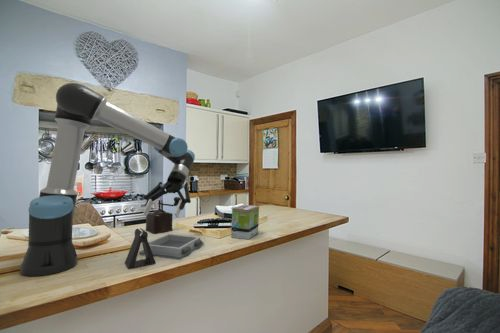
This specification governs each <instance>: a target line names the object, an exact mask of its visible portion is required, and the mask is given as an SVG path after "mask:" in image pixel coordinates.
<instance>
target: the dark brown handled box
mask: <svg viewBox="0 0 500 333" xmlns="http://www.w3.org/2000/svg"><path fill="white" fill-rule="evenodd" d="M180 200H181V198H180V196H175V197H174V198H173V201H174V202H173V204H171V203H170V204H169V203H162V202H161V201H162V200H161V199H158V208H157V209H156V210H155V211H153V212H149V213H148V215H147V216H145V217H146V218H145V232H148V233H151V234H154V235H157V234H162V233H163V234H164V233H166V232H172V231H173V216H174V215H173V214H174V213H172V212H168V211H167V212H166V211H165V210H164V209H161V206H169V207H177V205H178V203H179V201H180ZM181 201H182V200H181Z"/></svg>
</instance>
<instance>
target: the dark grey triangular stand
mask: <svg viewBox="0 0 500 333" xmlns="http://www.w3.org/2000/svg"><path fill="white" fill-rule="evenodd" d="M147 232H148V231H146V230H144V229H143V228H141V227H140V228H136V229H135V230H134V238H133V241H132V243H131V246H130V249H129V251H128V254H127V256H126V259H125V262H124V264H125V265H126V267H127V269H128V270H132V269H133V270H134V269H138V268H141V267H147V266H152V265H156V263H157V261H156V260H155V256H153V254H152V251H151V248H150V246H149V240H148V233H147ZM141 245H142V248H143V250H144V253H145V255H144V257H145V258H144V259H142V258H141V259H138V260H137V258H138V255H139V252H140V248H141Z"/></svg>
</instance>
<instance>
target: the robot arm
mask: <svg viewBox="0 0 500 333" xmlns="http://www.w3.org/2000/svg"><path fill="white" fill-rule="evenodd" d="M55 100H56V104H57V105H56V110H55V117H54V120H55V122H56V123H57V124H58V127H57V129H56V130H57V132H56V137H55V141H54V147H53V152H52V155H51V161H50V167H49V170H48V171H49V172H48V177H47V182H46V185H45V187H44V188H42V189H41V190H40V192H39V195H38V197H36V198H34V199H31V201H30V202H29V207H28V210H27V211H28V244H27V246H28V247H27V250H26V252H25V255H24V257H23V259H22V262H21V264H20V270H19V271H20V274H21V275H22V276H27V277H38V276H40V277H41V276H47V275H53V274H58V273H61V272H64V271H67V270H70V269H72V268H74V267H75V266H77V265H78V263H79V262H78V260H79V258H78V257H79V256H78V254H77V251H76V248H75V245H74V243H73V224H74V223H73V221H74V220H73V219H74V216H75V214H76V213H75V212H76V203H77V198H78V192H77V191H76V190H75V185H76V184H75V183H76V180H77V175H78V174H77V173H78V169H79V163H80V158H81V153H82V152H81V151H82V148H83V141H84V136H85V131H86V130H87V129H89V128H90V127H91V123H92V121H95V120H98V121H100V122H101V123H104V124H105V125H108V126H110V127H112V128H114V129H116V130H118V131H121V132H123V133H125V134H127V135H129V136H131V137H133V138H135V139H137V140H140V141H141V142H144V143H146V144H148V145H149V146H152V147H153V149H154V150H155V151H156V152H157V153H158V154H160V155H161V156H162V157H164V158H166V159H167V160H168V161H170V162H171V163H173V164H174V165H173V167H172V168H171V171H170V173H169V174H168V177H167V179H166V182H165V183H162V181H159V182H158V184H157V185H156V186H155V187H154V188H152V189H151V190H150V191H149V192H148V193H146V195H144V199H145V200H146V202H145V204H144V208H143V210H142V213H143V214H144V216H145V217H146V216H147V215H148V213H150V211H151V209H152V207H153V205H154V201H156V200H157V199H158V200H159V198H161V197H162V196H164V195H168V194H176V193H177V195H178V197H179V198H180V199H181V200H180V201H179V203H178V205H177V206H176V208H175V210H174V212H173V214H174V217H176V218H179V215H180V214H181V211H183V210H184V208H185V207H186V206H185V205H187V204H190V203H191V201H192V200H191V197H190V192H189V189H190V186H189V183H188V182H186V180H187V178H188V175H189V173H190V170H191V168H192V166H193V164H194V162H195V159H196V158H195V157H196V155H195V152H193V151H192V150H191V149H188V143H187V142H186V140H185V139H183V138H182V137H181V138H179V137H175V136H173V135H171V134H169V133H167V132H165V131H164V130H162V129H160V128H158V127H156V126H155V125H152V124H150V123H148V122H146V121H145V120H143V119H141V118H140V117H137V116H135V115H133V114H132V113H130V112H128V111H126V110H125V109H122V108H121V107H119V106H117V105H115V104H113V103H111V102H109V101H108V100H107V98H106V97H105V96H104V95H101V94H100V93H99V92H97V91H94V90H93V89H91V88H89V87H87V86H85V85H84V84H80V83H77V82H69V83H64V84H63V85H61V86H60V87H59V88H58V89H57V90H56V93H55ZM182 189H184V194H185V197H184V195H183V193H182V192H181V190H182Z"/></svg>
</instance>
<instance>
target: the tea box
mask: <svg viewBox="0 0 500 333" xmlns="http://www.w3.org/2000/svg"><path fill="white" fill-rule="evenodd" d="M259 217H260V206H259V205H249V204H240V205H238V206H235V207H232V208H231V231H230V237H231V238H234V239H241V240H250V239H251V238H252V237H254V236H255V235H257V234H258V233H259V219H260V218H259Z"/></svg>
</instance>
